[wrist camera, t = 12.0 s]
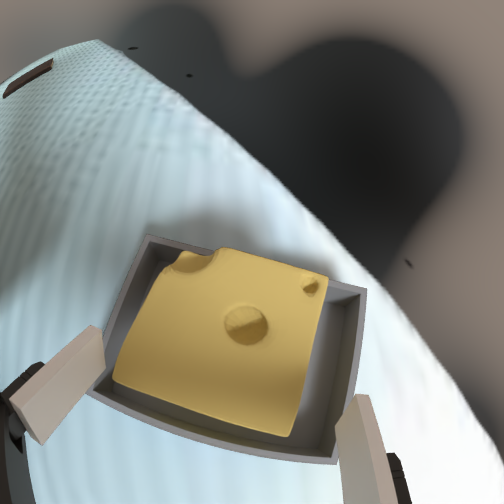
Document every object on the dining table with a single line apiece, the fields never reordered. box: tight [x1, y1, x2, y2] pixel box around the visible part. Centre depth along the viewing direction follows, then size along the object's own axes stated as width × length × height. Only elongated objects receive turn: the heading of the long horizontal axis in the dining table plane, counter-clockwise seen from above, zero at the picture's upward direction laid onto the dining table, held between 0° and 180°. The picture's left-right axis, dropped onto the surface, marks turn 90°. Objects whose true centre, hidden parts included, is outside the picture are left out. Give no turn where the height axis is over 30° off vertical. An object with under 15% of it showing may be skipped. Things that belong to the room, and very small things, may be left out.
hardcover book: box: [3, 58, 53, 99], centre depth 60 cm, size 16×23×2 cm
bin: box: [85, 234, 367, 465], centre depth 21 cm, size 20×15×4 cm
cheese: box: [112, 247, 329, 437], centre depth 18 cm, size 10×11×10 cm
